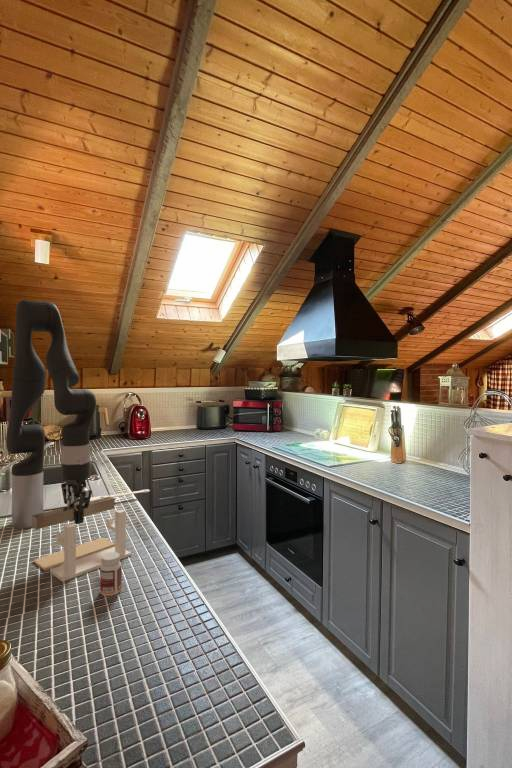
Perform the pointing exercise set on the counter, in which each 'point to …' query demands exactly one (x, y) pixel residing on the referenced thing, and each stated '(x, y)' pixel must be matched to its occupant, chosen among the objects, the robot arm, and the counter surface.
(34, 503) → the robot arm
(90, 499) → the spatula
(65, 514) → the rail
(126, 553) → the rack
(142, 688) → the counter surface
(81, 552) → the tray
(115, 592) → the pill bottle
